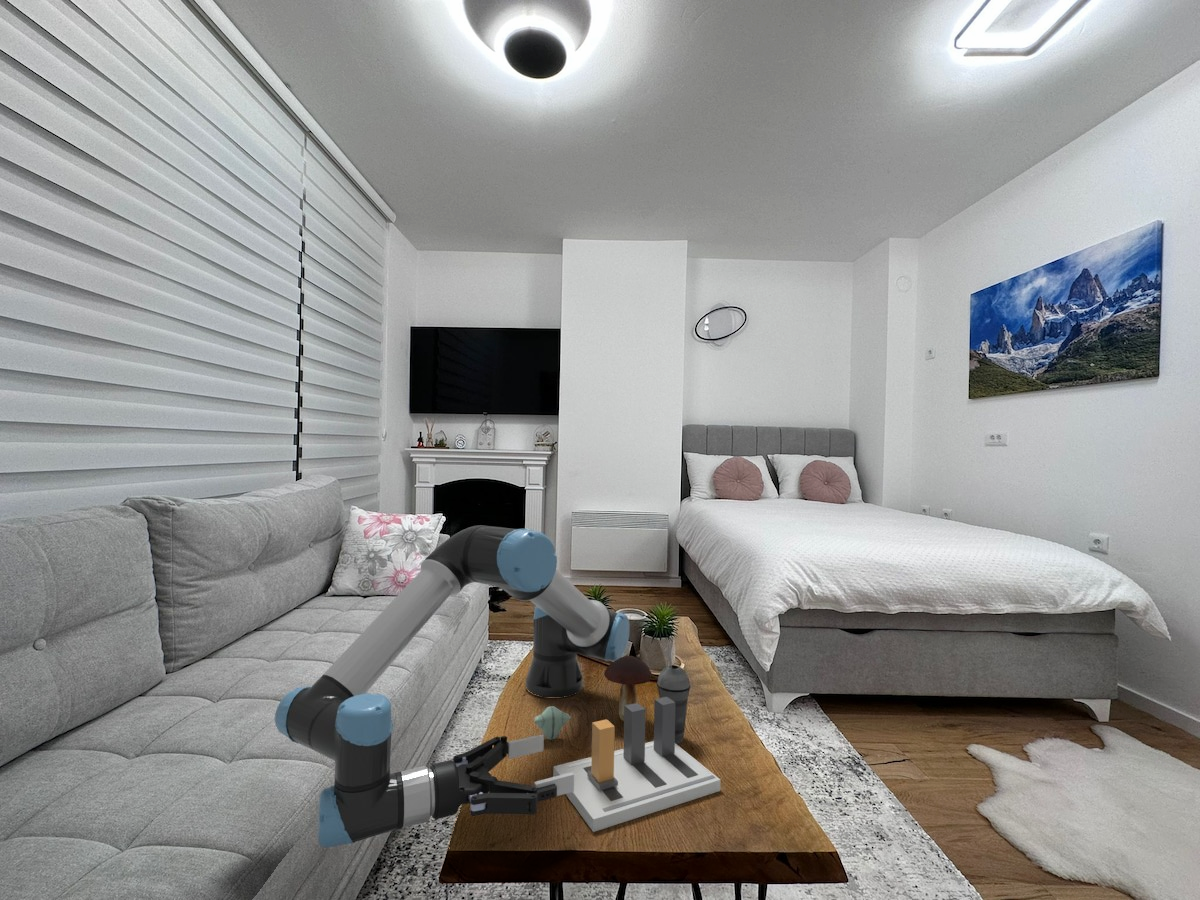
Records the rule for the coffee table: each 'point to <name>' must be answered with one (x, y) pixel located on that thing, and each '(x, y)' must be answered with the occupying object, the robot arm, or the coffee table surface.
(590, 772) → the breaker handle
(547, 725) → the green toy bird
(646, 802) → the slotted peg board
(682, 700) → the beverage cup
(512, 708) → the coffee table surface
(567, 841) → the coffee table surface
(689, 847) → the coffee table surface
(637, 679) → the decorative mushroom
